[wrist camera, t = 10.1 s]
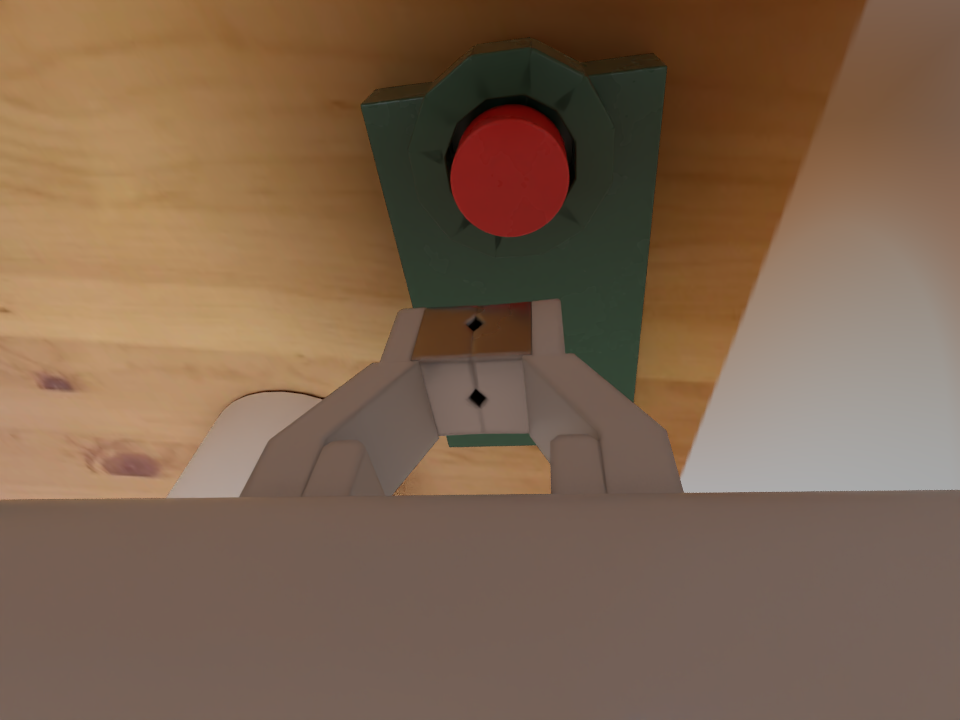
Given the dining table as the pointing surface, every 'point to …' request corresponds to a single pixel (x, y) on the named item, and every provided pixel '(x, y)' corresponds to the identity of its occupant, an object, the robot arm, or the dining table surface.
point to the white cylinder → (238, 443)
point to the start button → (510, 171)
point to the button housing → (574, 229)
